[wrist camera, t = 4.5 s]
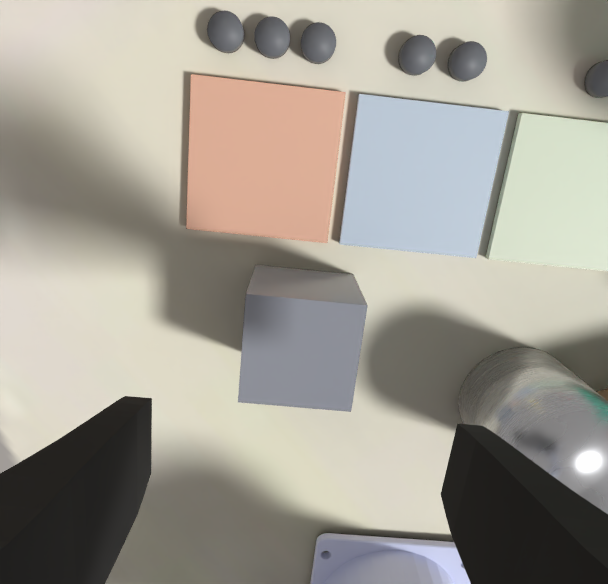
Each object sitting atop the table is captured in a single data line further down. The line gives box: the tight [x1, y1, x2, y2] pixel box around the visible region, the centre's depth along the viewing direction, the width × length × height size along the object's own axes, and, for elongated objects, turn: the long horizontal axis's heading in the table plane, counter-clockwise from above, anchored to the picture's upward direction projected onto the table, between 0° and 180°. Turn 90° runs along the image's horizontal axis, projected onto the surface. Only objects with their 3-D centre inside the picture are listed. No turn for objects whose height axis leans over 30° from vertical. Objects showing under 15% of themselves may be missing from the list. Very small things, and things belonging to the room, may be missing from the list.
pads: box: [186, 11, 608, 271], centre depth 17 cm, size 8×18×1 cm, turn 84°
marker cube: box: [238, 265, 367, 412], centre depth 18 cm, size 4×4×4 cm
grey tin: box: [459, 347, 608, 514], centre depth 18 cm, size 5×5×5 cm
